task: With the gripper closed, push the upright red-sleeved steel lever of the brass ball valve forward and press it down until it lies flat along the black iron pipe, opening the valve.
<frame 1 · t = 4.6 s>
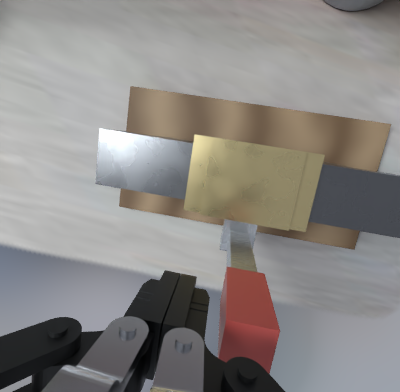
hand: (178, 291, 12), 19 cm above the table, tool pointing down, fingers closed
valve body: (246, 174, 23), on the base board, point 7 cm above the table
valve lever: (241, 260, 16), point 15 cm above the table, hinge at 0.6°, touching gripper
base board: (243, 167, 30), on the table
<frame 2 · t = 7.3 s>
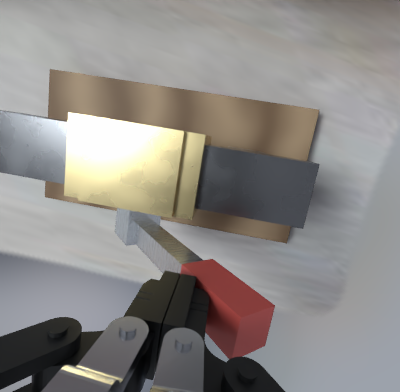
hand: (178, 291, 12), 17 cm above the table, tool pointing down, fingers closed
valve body: (154, 161, 21), on the base board, point 7 cm above the table
valve lever: (173, 251, 16), point 14 cm above the table, hinge at 41.3°, touching gripper
base board: (173, 156, 28), on the table
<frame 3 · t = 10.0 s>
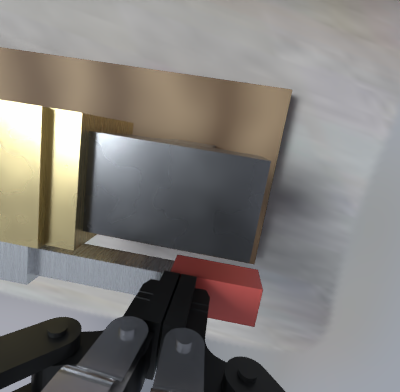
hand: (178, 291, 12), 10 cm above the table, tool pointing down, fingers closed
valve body: (56, 158, 15), on the base board, point 7 cm above the table
valve lever: (125, 264, 13), point 9 cm above the table, hinge at 90.7°, touching gripper
base board: (109, 153, 22), on the table
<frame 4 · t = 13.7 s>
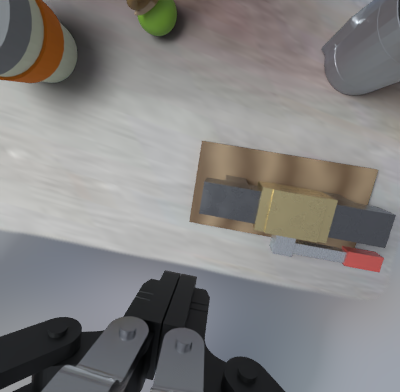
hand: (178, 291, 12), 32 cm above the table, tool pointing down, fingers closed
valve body: (285, 205, 36), on the base board, point 7 cm above the table
valve lever: (324, 249, 34), point 9 cm above the table, hinge at 90.9°
base board: (276, 195, 43), on the table
reusable coffee cup: (51, 53, 42), on the table
snail figurine: (164, 19, 40), on the table
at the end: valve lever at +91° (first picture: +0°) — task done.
